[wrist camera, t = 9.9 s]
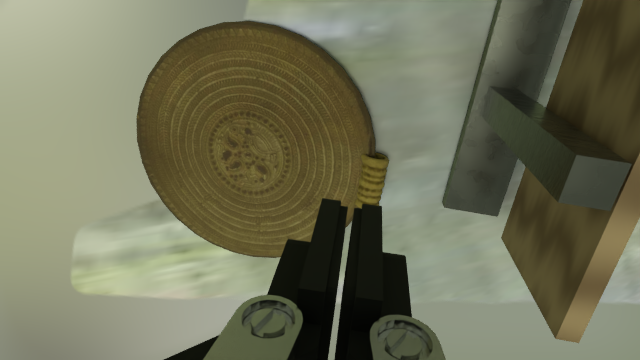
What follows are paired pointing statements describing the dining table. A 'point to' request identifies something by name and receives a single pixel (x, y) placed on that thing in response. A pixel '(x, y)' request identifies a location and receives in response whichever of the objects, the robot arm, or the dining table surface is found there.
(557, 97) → the picture frame
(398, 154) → the dining table surface
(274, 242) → the decorative disc
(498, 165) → the frame post
